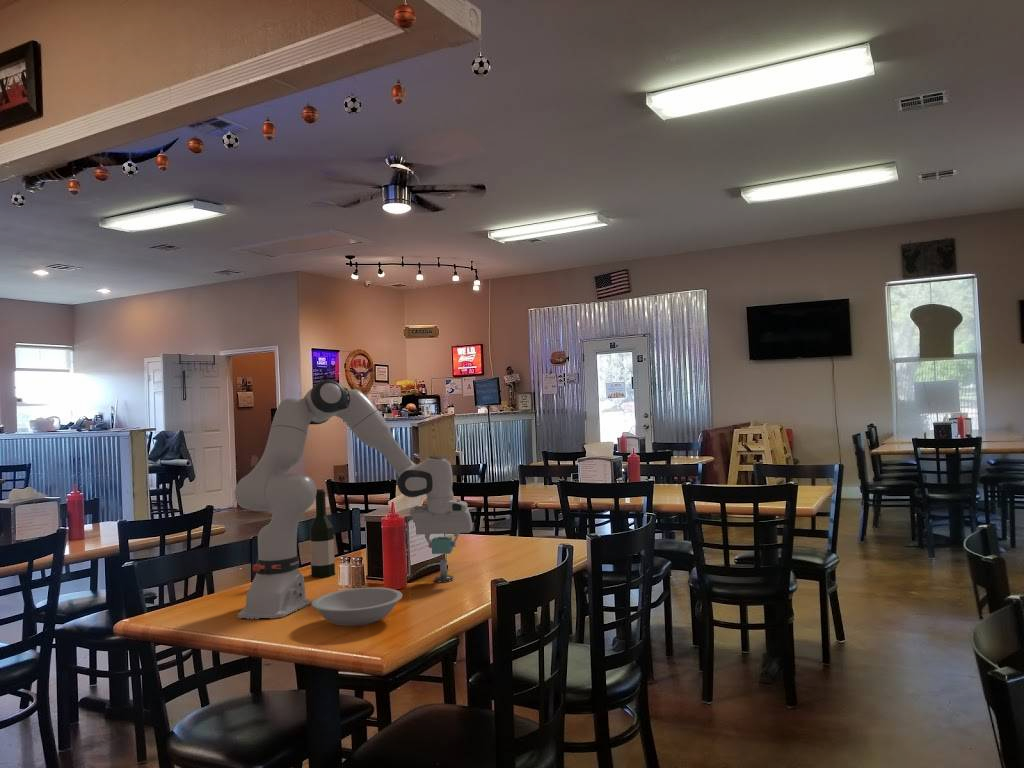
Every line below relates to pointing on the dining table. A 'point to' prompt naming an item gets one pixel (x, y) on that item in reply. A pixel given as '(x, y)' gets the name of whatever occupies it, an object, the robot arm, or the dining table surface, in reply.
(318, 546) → the wine bottle
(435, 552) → the teal block
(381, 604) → the soup bowl
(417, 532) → the robot arm
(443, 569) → the post stand
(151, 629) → the dining table surface
